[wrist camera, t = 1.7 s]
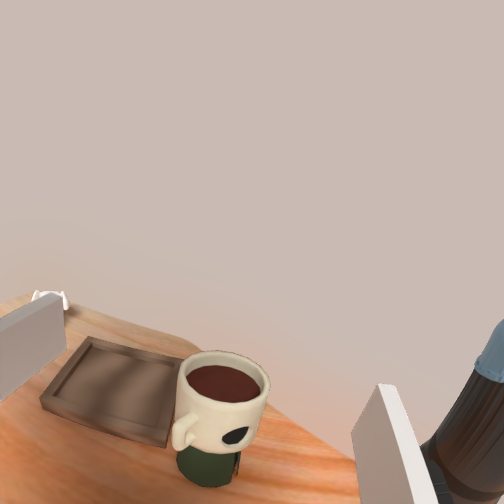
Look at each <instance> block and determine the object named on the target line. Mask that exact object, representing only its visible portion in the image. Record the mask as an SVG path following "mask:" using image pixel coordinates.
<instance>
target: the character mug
mask: <svg viewBox="0 0 504 504" xmlns="http://www.w3.org/2000/svg"><path fill="white" fill-rule="evenodd" d="M270 387H271V384H270V380H269V376H268V375H267V373H266V372H265V371H264V370H263V369H262V367H261V366H260V365H258V364H257V363H255V362H254V361H252V360H251V359H249V358H246V357H244V356H241V355H239V354H235V353H232V352H225V351H218V350H216V351H202V352H199V353H196V354H193V355H190V356H189V357H187V358H186V359H185V360H184V361H183V362H182V363H181V366H180V370H179V374H178V379H177V391H176V405H175V420H174V421H175V423H174V425H173V428H172V446H173V448H174V449H175V451H178V455H177V459H176V460H177V464H178V468H179V470H180V471H181V472H182V473H183V474H184V476H185V477H186V478H187V479H188V480H190V481H192V482H194V483H196V484H198V485H200V486H202V487H216V488H217V487H220V486H223V485H226V484H229V483H230V482H231V478H232V473H233V470H234V468H235V465H236V462H237V471H236V476H237V475H238V469H239V462H240V455H241V450H244V449H245V448H247V447H248V446H249V445H250V443H251V442H252V441H253V439H254V437H255V435H256V433H257V431H258V424H259V421H260V419H261V417H262V414H263V411H264V409H265V406H266V401H267V398H268V394H269V391H270Z"/></svg>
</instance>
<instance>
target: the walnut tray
mask: <svg viewBox="0 0 504 504" xmlns="http://www.w3.org/2000/svg"><path fill="white" fill-rule="evenodd" d="M183 361H184V359H179V358H174V357H169V356H165V355H160V354H155V353H151V352H147V351H142V350H138V349H134V348H130V347H126V346H122V345H118V344H115V343H111V342H107V341H104V340H100V339H97V338H93V337H90V336H88V337H87V338H86V339H85V340H84V342H83V343H82V344H81V345H80V347H79V348H78V349H77V350H76V352H75V353H74V354H73V355H72V357H71V358H70V359H69V360H68V362H67V363H66V364H65V365H64V367H63V368H62V369H61V370H60V372H59V373H58V374H57V376H56V377H55V378H54V379H53V381H52V382H51V383H50V385H49V386H48V387H47V389H46V390H45V391H44V393H43V394H42V395H41V397H40V402H41V405H42V408H43V409H44V410H47V411H49V412H51V413H53V414H56V415H58V416H61V417H63V418H66V419H68V420H71V421H73V422H76V423H79V424H81V425H84V426H87V427H90V428H93V429H96V430H99V431H102V432H105V433H108V434H111V435H115V436H118V437H122V438H125V439H129V440H132V441H136V442H140V443H144V444H148V445H152V446H157V447H161V448H166V445H167V440H168V436H169V431H170V427H171V423H172V418H173V414H174V410H175V405H176V391H177V379H178V374H179V370H180V366H181V363H182V362H183Z"/></svg>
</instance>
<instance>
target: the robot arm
mask: <svg viewBox="0 0 504 504" xmlns="http://www.w3.org/2000/svg"><path fill="white" fill-rule="evenodd" d="M66 350H67V345H66V336H65V325H64V311H63V297H61V296H59V295H57V294H54V293H52V292H50V293H48V294H46V295H44V296H42V297H40V298H38V299H36V300H34V301H32V302H30V303H28V304H26V305H24V306H22V307H21V308H19V309H17V310H15V311H13V312H11V313H9V314H7V315H5V316H3V317H1V318H0V403H1V402H2V401H3V400H5V399H6V398H7V397H8V396H9V395H11V394H12V393H13V392H14V391H16V390H17V389H18V388H19V387H21V386H22V385H23V384H24V383H25V382H27V381H28V380H29V379H30V378H32V377H33V376H34V375H35V374H37V373H38V372H39V371H40V370H42V369H43V368H44V367H46V366H47V365H48V364H49V363H51V362H52V361H53V360H54V359H56V358H57V357H58V356H60V355H61V354H62V353H63V352H65V351H66ZM351 436H352V442H353V448H354V454H355V462H356V468H357V476H358V483H359V491H360V499H361V504H497V502H498V501H499V499H500V497H501V496H502V495H503V494H504V319H503V320H502V321H501V322H500V323H499V324H498V325H497V326H496V328H495V329H494V331H493V333H492V335H491V337H490V339H489V341H488V343H487V345H486V347H485V349H484V350H483V352H482V354H481V355H480V356H479V357H478V358H477V360H476V362H475V368H474V370H473V372H472V374H471V376H470V378H469V380H468V381H467V383H466V385H465V387H464V389H463V390H462V392H461V394H460V396H459V397H458V399H457V400H456V402H455V404H454V405H453V407H452V408H451V410H450V412H449V413H448V414H447V416H446V417H445V419H444V420H443V422H442V423H441V425H440V426H439V428H438V429H437V431H436V432H435V434H434V435H433V436H432V438H431V439H429V440H428V441H427V442H425V443H424V444H422V445H421V446H419V445H418V442H417V439H416V437H415V434H414V432H413V429H412V426H411V424H410V421H409V419H408V417H407V414H406V411H405V409H404V407H403V404H402V402H401V399H400V397H399V394H398V392H397V390H396V387H395V385H386V384H377V386H376V388H375V390H374V392H373V394H372V395H371V397H370V399H369V401H368V403H367V405H366V407H365V409H364V411H363V412H362V414H361V416H360V418H359V420H358V421H357V423H356V425H355V426H354V428H353V430H352V432H351Z"/></svg>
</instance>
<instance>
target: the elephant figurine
mask: <svg viewBox="0 0 504 504" xmlns="http://www.w3.org/2000/svg"><path fill="white" fill-rule="evenodd" d="M50 292H52V293H54V294H57V295H59V296H61V297H63V309H64V310H67V309H69V301H68V298H67V295H66V294H65V292H64V291H62V292H61V293H59V292H55V291H44V292H40V291H39V290H36V291H35V292H34V294H33V297H32V301H34V300H36V299H38V298H40V297H42V296H44V295H46V294H48V293H50ZM32 301H31V302H32Z"/></svg>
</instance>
